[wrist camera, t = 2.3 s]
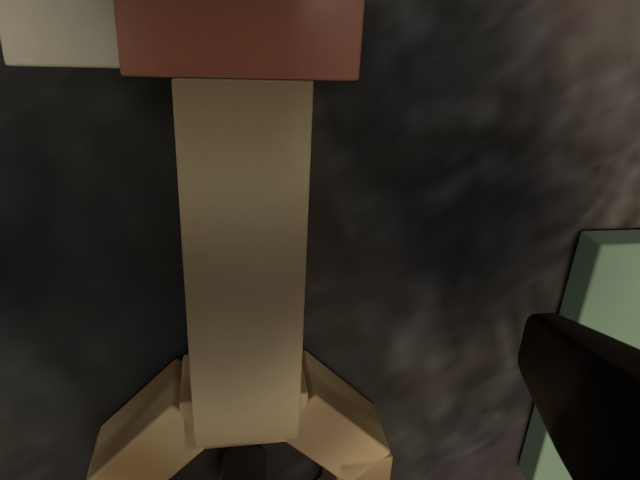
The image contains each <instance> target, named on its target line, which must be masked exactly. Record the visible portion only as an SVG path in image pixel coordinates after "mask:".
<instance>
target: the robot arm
mask: <svg viewBox="0 0 640 480" xmlns="http://www.w3.org/2000/svg"><path fill="white" fill-rule="evenodd" d="M518 365H519V369H520V372H521V374H522V376H523V378H524V381H525V383H526V385H527V387H528V390H529V392H530V394H531V396H532V399H533V401H534V403H535V405H536V408H537V410H538V412H539V414H540V417H541V419H542V421H543V423H544V425H545V428H546V430H547V432H548V434H549V437H550V439H551V441H552V443H553V445H554V447H555V449H556V451H557V453H558V455H559V457H560V459H561V460H562V462H563V464H564V466H565V468H566V469H567V471H568V473H569V475H570V476H571V478H572V480H640V349H638V348H636V347H634V346H631V345H629V344H627V343H624V342H622V341H620V340H617V339H615V338H613V337H610V336H608V335H606V334H603V333H601V332H599V331H597V330H594V329H592V328H590V327H587V326H585V325H583V324H580V323H578V322H576V321H573V320H571V319H569V318H566V317H564V316H562V315H559V314H557V313H538V314H532V315H531V316H529V317H528V319H527V321H526V324H525V328H524V333H523V337H522V341H521V345H520V349H519V353H518Z"/></svg>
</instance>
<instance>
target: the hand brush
mask: <svg viewBox="0 0 640 480" xmlns="http://www.w3.org/2000/svg"><path fill="white" fill-rule="evenodd" d="M364 4H365V0H0V41H1V46H2V52H3V57H4V62H5V64H6V65H9V66H37V67H82V68H120V73H121V75H122V76H129V77H172V80H171V84H172V99H173V115H174V131H175V147H176V162H177V178H178V194H179V210H180V225H181V241H182V257H183V273H184V288H185V304H186V320H187V336H188V351H189V354H187V355H184V356H183V361H181V360H179V359H175V360H174V361H172V362H171V363H170V364H169V365H168V366H167V367H166V368H165V369H164V370H163V371H161V372H160V373H159V374H158V375H157V376H156V377H155V378H154V379H153V380H152V381H150V382H149V383H148V384H147V385H146V386H145V387H144V388H143V389H142V390H141V391H139V392H138V393H137V394H136V395H135V396H134V397H133V398H132V399H131V400H130V401H128V402H127V403H126V404H125V405H124V406H123V407H122V408H121V409H120V410H119V411H117V412H116V413H115V414H114V415H113V416H112V417H111V418H110V419H109V420H108V421H106V422H105V423H104V424H103V425H102V426H101V428H100V432H98V435H97V439H96V443H95V447H94V451H93V455H92V458H91V462H90V466H89V470H88V474H87V478H86V480H169V479H170V478H171V477H172V476H173V475H174V474H176V473H177V472H178V471H179V470H180V469H181V468H183V467H184V466H185V465H186V464H187V463H188V462H190V461H191V460H192V459H193V458H194V457H195V456H197V455H198V454H199V453H200V452H201V451H203V450H204V449H210V448H221V447H232V446H243V445H254V444H265V443H276V442H287V443H288V444H290V445H291V446H293V447H294V448H296V449H297V450H299V451H300V452H302V453H303V454H305V455H306V456H307V457H309V458H310V459H312V460H313V461H315V462H316V463H318V464H319V465H321V466H322V476H320V477H319V478H318V479H317V480H390V475H391V467H392V460H393V456H392V453H391V451H390V448H389V445H388V443H387V440H386V437H385V434H384V432H383V429H382V426H381V423H380V421H379V418H378V415H377V412H376V410H375V408H374V405H373V404H372V403H371V402H370V401H368V400H367V399H366V398H365V397H363V396H362V395H361V394H360V393H358V392H357V391H356V390H355V389H353V388H352V387H351V386H350V385H348V384H347V383H346V382H345V381H343V380H342V379H341V378H340V377H338V376H337V375H336V374H335V373H333V372H332V371H331V370H330V369H328V368H327V367H326V366H325V365H323V364H322V363H321V362H319V361H318V360H317V359H316V358H314V357H313V356H312V355H311V354H309V353H308V352H307V351H306V350H303V328H304V304H305V280H306V256H307V232H308V208H309V184H310V160H311V135H312V111H313V87H314V83H313V81H312V80H331V81H357V80H358V79H359V71H360V57H361V44H362V31H363V17H364Z"/></svg>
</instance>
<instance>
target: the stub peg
mask: <svg viewBox="0 0 640 480" xmlns="http://www.w3.org/2000/svg"><path fill="white" fill-rule="evenodd" d="M220 480H268V472H267V462H266V455H265V452H264V451H263V449H262V448H261V447H260V446H258V445H256V444H254V445H243V446H232V447H229V448H228V449H226V450H225V452H224V453H223V454H222V456H221V460H220Z"/></svg>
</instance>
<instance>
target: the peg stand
mask: <svg viewBox="0 0 640 480" xmlns="http://www.w3.org/2000/svg"><path fill="white" fill-rule="evenodd" d="M559 315H562V316H564V317H566V318H569V319H571V320H573V321H576V322H578V323H580V324H583V325H585V326H587V327H590V328H592V329H594V330H597V331H599V332H601V333H603V334H606V335H608V336H610V337H613V338H615V339H617V340H620V341H622V342H624V343H627V344H629V345H631V346H634V347H636V348H638V349H640V230H607V231H583V232H581V234H580V237H579V241H578V245H577V249H576V252H575V256H574V260H573V263H572V267H571V271H570V275H569V278H568V282H567V286H566V290H565V293H564V297H563V301H562V304H561V308H560V312H559ZM519 465H520V467H521V469H522V471H523V472H524V474H525V475H526V477H527V479H528V480H572V478H571V476H570V475H569V473H568V471H567V469H566V468H565V466H564V464H563V462H562V460H561V459H560V457H559V455H558V453H557V451H556V449H555V447H554V445H553V443H552V441H551V439H550V437H549V434H548V432H547V430H546V428H545V425H544V423H543V421H542V419H541V417H540V414H539V412H538V410H537V408H536V405H534V409H533V413H532V416H531V420H530V424H529V427H528V431H527V435H526V439H525V442H524V446H523V450H522V454H521V457H520V461H519Z"/></svg>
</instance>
